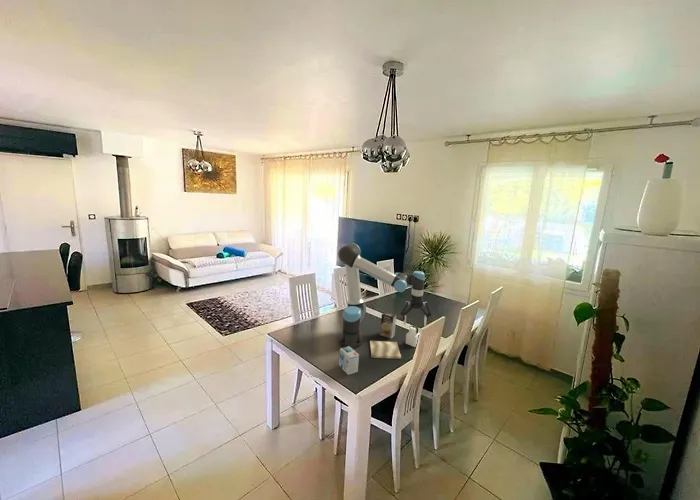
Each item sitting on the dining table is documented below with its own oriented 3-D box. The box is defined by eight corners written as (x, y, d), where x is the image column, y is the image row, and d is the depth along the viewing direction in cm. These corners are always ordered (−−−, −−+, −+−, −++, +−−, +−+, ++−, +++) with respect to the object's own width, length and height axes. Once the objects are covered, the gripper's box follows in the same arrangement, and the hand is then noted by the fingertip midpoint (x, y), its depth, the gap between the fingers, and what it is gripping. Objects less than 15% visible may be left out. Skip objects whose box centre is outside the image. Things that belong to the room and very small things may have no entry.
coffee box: (379, 335, 211) (380, 313, 208) (383, 331, 216) (384, 311, 213) (391, 339, 206) (393, 317, 203) (394, 335, 211) (396, 314, 208)
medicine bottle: (410, 339, 206) (411, 323, 204) (419, 343, 202) (421, 327, 199) (405, 343, 201) (406, 327, 198) (414, 347, 196) (416, 330, 194)
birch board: (371, 357, 182) (371, 355, 181) (369, 342, 199) (370, 340, 199) (400, 358, 182) (401, 356, 181) (396, 344, 199) (396, 342, 199)
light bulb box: (338, 365, 171) (339, 348, 169) (348, 362, 175) (349, 345, 173) (348, 375, 163) (349, 357, 161) (358, 372, 166) (359, 354, 164)
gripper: (399, 296, 191) (396, 326, 195) (437, 297, 191) (435, 328, 195) (397, 292, 198) (395, 322, 202) (434, 293, 198) (432, 323, 202)
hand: (414, 325), depth 199 cm, fingers open, 13 cm apart
